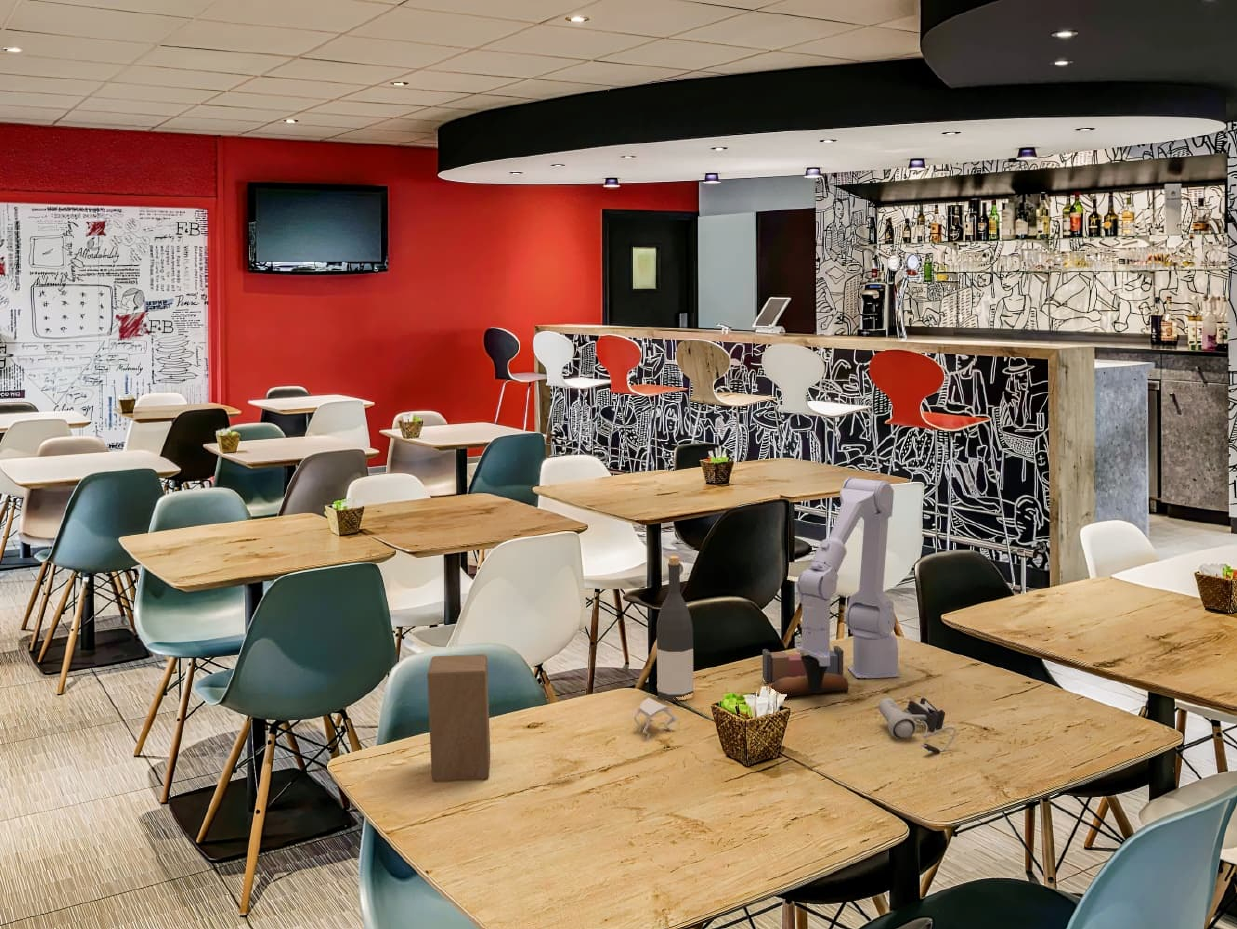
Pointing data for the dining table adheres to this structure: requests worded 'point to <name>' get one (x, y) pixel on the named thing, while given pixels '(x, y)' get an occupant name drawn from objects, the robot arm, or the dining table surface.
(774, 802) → the dining table surface
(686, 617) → the wine bottle
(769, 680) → the book row
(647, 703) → the grey legged block
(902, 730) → the clip-on lamp
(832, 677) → the sunglasses case
